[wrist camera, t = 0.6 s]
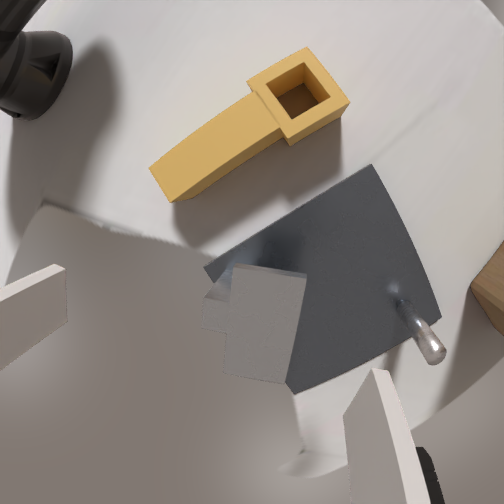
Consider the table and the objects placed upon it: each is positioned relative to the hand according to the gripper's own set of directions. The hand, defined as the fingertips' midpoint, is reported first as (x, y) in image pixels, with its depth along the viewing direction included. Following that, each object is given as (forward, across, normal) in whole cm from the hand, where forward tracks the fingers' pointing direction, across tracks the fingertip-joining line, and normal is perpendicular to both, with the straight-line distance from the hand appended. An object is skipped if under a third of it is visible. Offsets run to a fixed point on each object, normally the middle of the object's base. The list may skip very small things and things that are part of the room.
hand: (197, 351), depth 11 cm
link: (+22, -4, +10) cm, 24 cm away
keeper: (+22, +1, -5) cm, 23 cm away
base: (+22, +9, -4) cm, 24 cm away
